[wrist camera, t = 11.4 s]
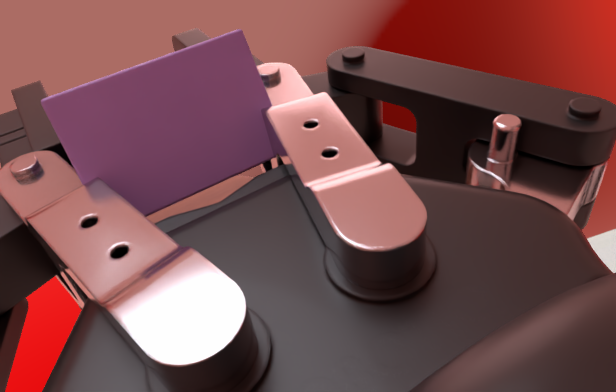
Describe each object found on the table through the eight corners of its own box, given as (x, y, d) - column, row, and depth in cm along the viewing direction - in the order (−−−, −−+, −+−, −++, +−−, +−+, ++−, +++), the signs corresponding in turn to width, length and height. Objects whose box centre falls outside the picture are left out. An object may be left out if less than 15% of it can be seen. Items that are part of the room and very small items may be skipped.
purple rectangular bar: (291, 150, 10) (241, 27, 9) (108, 235, 9) (39, 99, 8) (161, 153, 27) (141, 111, 27) (94, 181, 26) (72, 137, 25)
